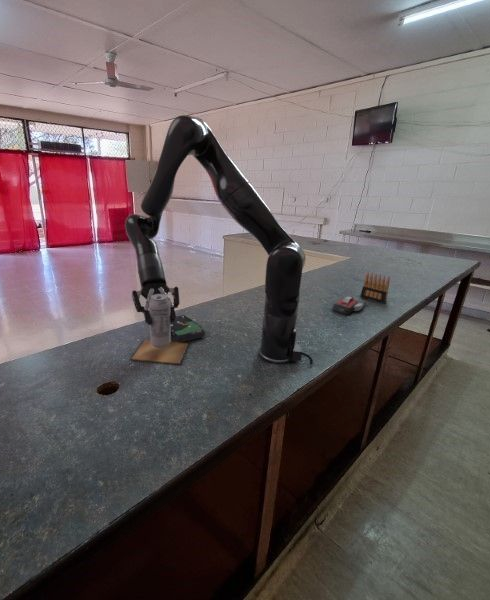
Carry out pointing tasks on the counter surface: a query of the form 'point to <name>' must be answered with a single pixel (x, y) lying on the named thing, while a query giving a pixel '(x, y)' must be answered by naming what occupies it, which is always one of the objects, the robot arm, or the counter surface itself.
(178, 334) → the disk drive
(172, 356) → the cork pad
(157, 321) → the energy drink can
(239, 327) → the counter surface
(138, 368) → the counter surface
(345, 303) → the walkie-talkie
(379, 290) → the ammunition clip
